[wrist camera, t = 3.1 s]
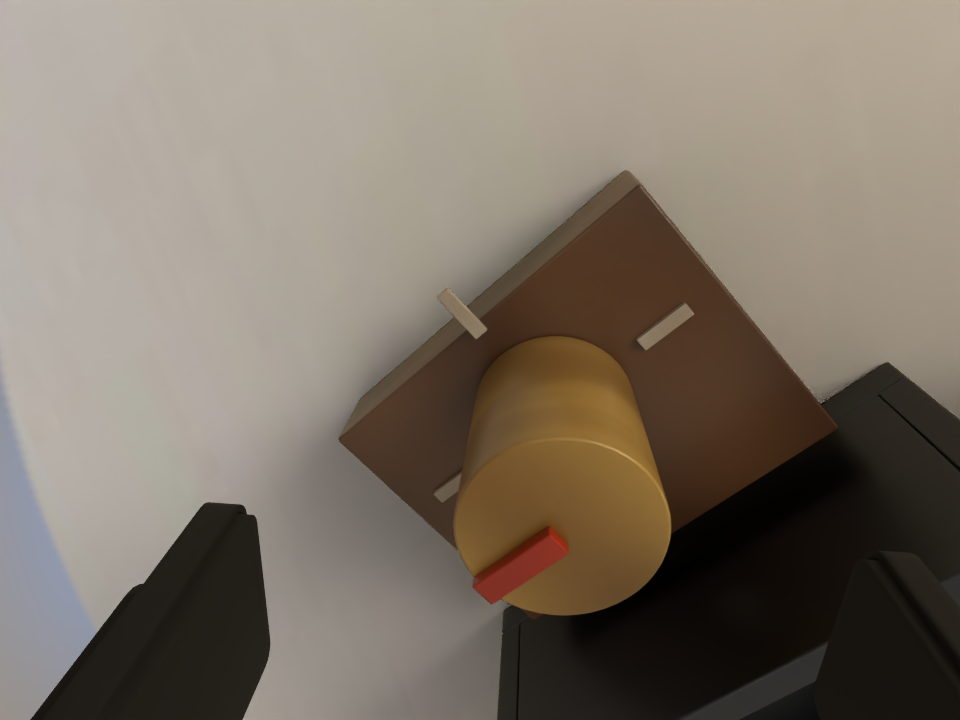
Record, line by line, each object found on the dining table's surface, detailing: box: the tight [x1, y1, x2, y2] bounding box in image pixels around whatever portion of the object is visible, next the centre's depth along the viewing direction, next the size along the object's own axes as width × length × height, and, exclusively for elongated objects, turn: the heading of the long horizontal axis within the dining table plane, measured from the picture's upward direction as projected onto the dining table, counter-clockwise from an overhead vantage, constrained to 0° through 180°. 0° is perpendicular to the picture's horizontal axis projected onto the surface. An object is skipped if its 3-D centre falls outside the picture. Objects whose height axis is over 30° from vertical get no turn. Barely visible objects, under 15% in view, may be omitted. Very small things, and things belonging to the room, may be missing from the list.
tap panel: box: [339, 170, 838, 620], centre depth 18 cm, size 10×9×3 cm
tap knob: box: [453, 336, 671, 616], centre depth 14 cm, size 4×4×5 cm
